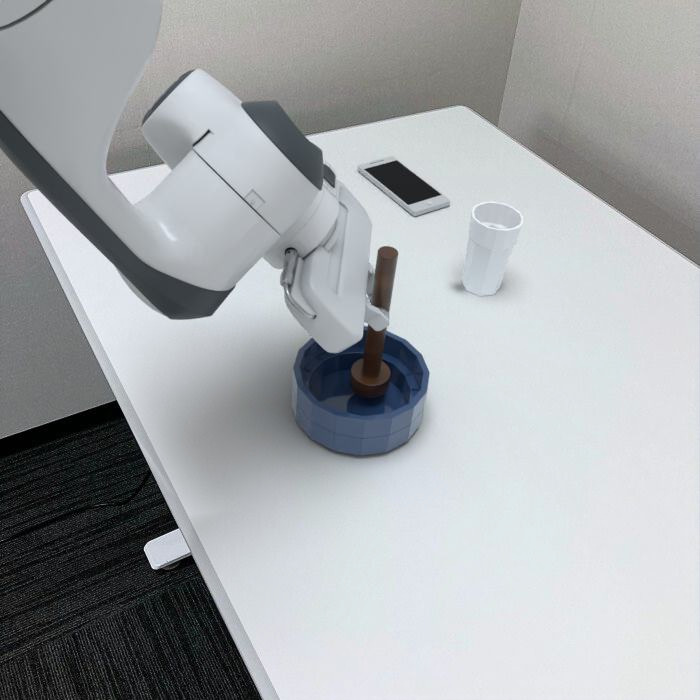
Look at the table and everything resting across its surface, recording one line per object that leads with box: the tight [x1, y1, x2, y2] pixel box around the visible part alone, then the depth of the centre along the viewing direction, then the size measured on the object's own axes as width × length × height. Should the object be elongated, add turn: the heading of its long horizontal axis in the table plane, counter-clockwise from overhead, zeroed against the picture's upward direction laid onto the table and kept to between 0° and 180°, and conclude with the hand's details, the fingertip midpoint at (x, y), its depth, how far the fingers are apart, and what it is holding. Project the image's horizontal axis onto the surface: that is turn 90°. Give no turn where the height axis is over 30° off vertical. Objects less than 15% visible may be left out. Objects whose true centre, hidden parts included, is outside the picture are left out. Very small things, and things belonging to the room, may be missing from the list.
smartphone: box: [357, 155, 451, 217], centre depth 122 cm, size 7×16×1 cm, turn 34°
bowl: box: [291, 325, 431, 456], centre depth 85 cm, size 14×14×6 cm
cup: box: [461, 201, 525, 297], centre depth 102 cm, size 7×7×11 cm
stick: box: [349, 245, 399, 398], centre depth 80 cm, size 4×4×18 cm
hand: (385, 313), depth 79 cm, fingers closed on stick, 2 cm apart
